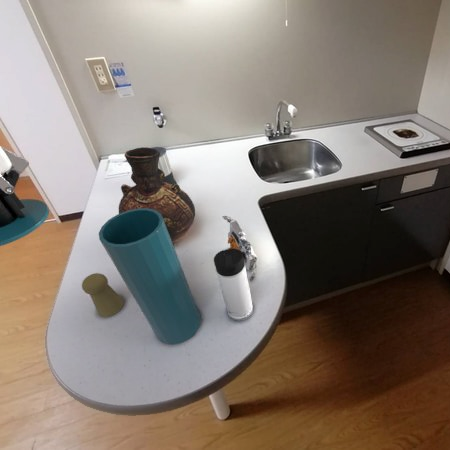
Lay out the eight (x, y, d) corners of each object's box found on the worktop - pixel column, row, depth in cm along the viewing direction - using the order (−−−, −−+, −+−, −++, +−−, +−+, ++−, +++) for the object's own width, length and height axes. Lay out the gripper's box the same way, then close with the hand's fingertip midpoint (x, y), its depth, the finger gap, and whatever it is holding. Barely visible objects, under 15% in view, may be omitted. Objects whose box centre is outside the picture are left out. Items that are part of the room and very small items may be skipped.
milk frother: (164, 178, 126) (153, 144, 117) (194, 186, 121) (185, 152, 112) (137, 196, 117) (122, 161, 107) (169, 206, 111) (156, 170, 102)
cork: (128, 303, 79) (111, 275, 72) (106, 321, 75) (86, 293, 68) (115, 293, 82) (96, 265, 74) (93, 310, 78) (71, 282, 71)
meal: (224, 251, 93) (216, 218, 85) (237, 246, 95) (230, 213, 87) (246, 283, 84) (240, 249, 75) (260, 276, 86) (255, 242, 77)
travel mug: (229, 325, 74) (213, 270, 61) (227, 303, 79) (212, 247, 66) (254, 319, 75) (244, 264, 62) (251, 298, 80) (241, 242, 67)
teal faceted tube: (172, 353, 69) (117, 255, 48) (147, 327, 74) (88, 228, 53) (209, 321, 75) (174, 223, 54) (184, 299, 80) (143, 201, 60)
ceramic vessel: (125, 261, 91) (76, 172, 71) (140, 223, 104) (102, 140, 84) (198, 253, 93) (170, 165, 73) (203, 217, 106) (180, 135, 87)
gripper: (-19, 73, 41) (54, 188, 53) (-222, 107, 31) (-77, 239, 43) (-2, 83, 37) (72, 204, 49) (-227, 126, 27) (-66, 264, 39)
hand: (2, 219), depth 46 cm, fingers closed on lid, 3 cm apart
